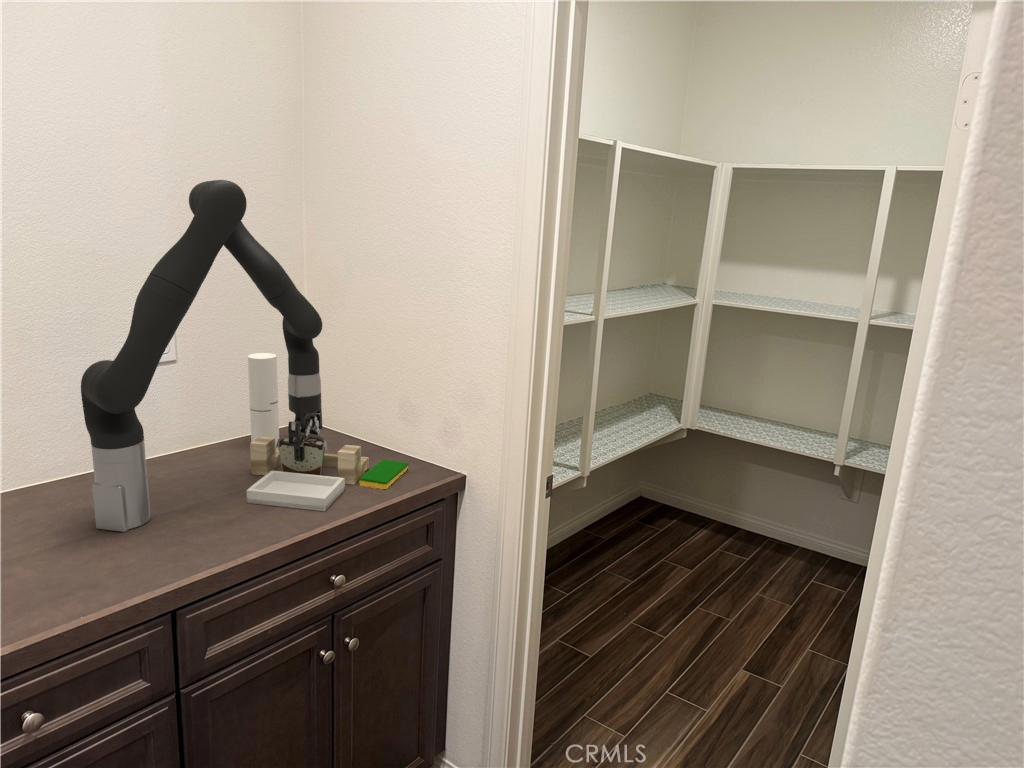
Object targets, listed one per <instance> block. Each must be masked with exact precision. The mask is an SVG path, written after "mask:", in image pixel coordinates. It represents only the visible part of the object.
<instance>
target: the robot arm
mask: <svg viewBox="0 0 1024 768" xmlns="http://www.w3.org/2000/svg"><path fill="white" fill-rule="evenodd" d="M247 203H248V202H247V197H246V195H245V191H244V190H243V189H242V188H241V187H240V185H238V184H237V183H235V182H233V181H231V180H227V179H214V180H207V181H203V182H200V183H197V184H196V185H194V187H192V189H191V191H190V192H189V196H188V205H189V209H190V211H191V213H192V214H193V217H192V219H191V221H190V223H189V225H188V227H187V229H186V231H185V232H184V233H183V235H182V236H181V237H180V238H179V240H178V241H176V242H175V243H174V245H172V246H171V248H169V250H167V251H166V253H165V254H164V255H162V257H161V258H160V259H159V260H158V262H157V263H155V265H154V267H153V268H152V269H151V271H150V273H149V275H148V276H147V278H146V279H145V281H144V283H143V285H142V287H141V289H140V290H139V292H138V295H137V296H136V299H135V303H134V307H133V311H132V315H131V322H130V327H129V331H128V335H127V338H125V339H126V340H125V341H124V344H123V346H122V347H121V349H120V350H119V352H118V353H117V354H116V357H114V359H113V360H111V359H106V360H105V359H104V360H98V361H96V362H94V363H92V364H91V365H89V366H88V367H87V368H86V369H85V371H84V372H83V374H82V378H81V380H80V394H81V395H80V396H81V404H82V410H83V417H84V423H85V427H86V431H87V433H88V434H89V438H90V444H91V445H90V446H91V456H92V466H93V467H92V468H93V475H94V476H93V477H94V483H93V484H91V488H92V489H91V490H92V498H93V507H94V517H95V518H94V519H95V526H96V527H95V528H96V529H98V530H107V531H113V532H121V533H122V532H123V533H125V532H127V531H129V530H130V529H135V528H138V527H140V526H141V527H142V525H145V524H146V523H147V522H149V521H150V520H151V505H150V504H151V503H150V494H149V493H150V492H149V482H148V472H147V460H146V459H147V458H146V446H145V445H146V444H145V435H144V426H143V425H142V424H141V422H140V419H139V418H138V416H137V413H136V409H135V408H137V407H138V406H139V405H140V404H141V402H142V401H143V399H144V397H146V394H147V392H148V390H149V387H150V385H151V383H152V381H153V378H154V375H155V372H156V370H157V369H158V366H159V363H160V361H161V359H162V357H163V355H164V353H165V351H166V349H167V348H168V346H169V344H170V342H171V341H172V339H173V337H174V336H175V334H176V331H177V330H178V328H179V326H180V325H181V322H182V321H183V319H184V317H185V316H186V315H187V313H188V311H189V309H190V308H191V306H192V304H193V302H194V301H195V298H196V297H197V295H198V294H199V291H200V290H201V287H202V284H203V282H204V281H205V279H206V277H207V276H208V274H209V272H210V270H211V268H212V266H213V264H214V262H215V260H216V258H217V256H218V254H219V253H220V251H221V249H222V248H223V246H224V248H226V250H227V251H228V252H229V253H230V254H231V256H232V257H233V258H234V259H235V260H236V261H237V263H238V264H239V265H240V266H241V268H242V269H243V270H244V271H245V273H246V274H247V275H248V277H249V278H250V280H251V281H252V282H253V283H254V285H255V286H256V288H257V289H258V290H259V292H260V293H261V294H262V295H263V297H264V298H265V300H266V302H267V303H269V305H270V306H272V307H273V308H274V309H276V310H277V311H278V312H279V313H280V315H281V316H282V332H283V338H284V343H285V347H286V351H287V361H288V362H287V365H288V367H287V369H288V377H287V390H288V391H287V392H288V393H287V398H288V410H289V411H290V412H292V413H293V414H294V417H295V418H294V421H288V424H287V425H288V435H289V446H293V447H294V459H295V461H300V462H302V461H304V442H305V439H306V438H307V437H308V434H315V435H319V434H320V432H321V430H322V429H323V414H322V382H321V381H322V380H321V373H320V353H319V351H318V350H317V348H316V347H315V345H314V341H313V340H314V339H316V338H317V337H318V336H320V334H321V333H322V330H323V321H322V317H321V316H320V314H319V312H318V311H317V309H315V307H314V306H313V305H312V304H311V302H310V301H309V300H308V299H307V298H306V297H305V296H304V295H303V294H302V293H301V292H300V290H299V289H298V288H297V286H296V284H295V283H294V281H293V280H292V279H291V277H290V276H289V274H288V273H287V271H286V270H285V269H284V267H283V265H281V264H280V262H279V261H278V260H277V259H276V258H275V257H274V256H273V254H271V253H270V252H269V251H268V250H267V249H266V248H264V247H263V245H261V243H260V242H259V241H258V240H256V239H255V237H254V236H253V235H252V234H251V233H250V231H249V230H248V228H247V227H246V226H245V224H244V223H243V221H242V220H243V218H244V216H245V214H246V212H247ZM293 437H294V438H293Z"/></svg>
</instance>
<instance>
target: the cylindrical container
mask: <svg viewBox="0 0 1024 768" xmlns="http://www.w3.org/2000/svg"><path fill="white" fill-rule="evenodd" d="M277 360H278V359H277V354H275V353H271V352H257V353H251V354H249V355H247V365H248V367H247V368H248V369H247V370H248V371H247V372H248V390H249V394H248V395H249V396H248V397H249V414H250V415H249V417H250V437H251V439H250V440H251V442H252V441H254V440H255V439H257V438H258V437H270V438H275V444H277V441H278V439H279V438H280V425H279V424H280V419H279V396H278V395H279V394H278V391H279V389H278V388H279V387H278V361H277ZM251 442H250V443H251ZM276 448H278V447H276Z"/></svg>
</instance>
